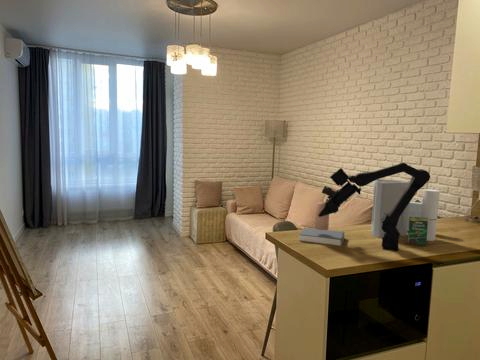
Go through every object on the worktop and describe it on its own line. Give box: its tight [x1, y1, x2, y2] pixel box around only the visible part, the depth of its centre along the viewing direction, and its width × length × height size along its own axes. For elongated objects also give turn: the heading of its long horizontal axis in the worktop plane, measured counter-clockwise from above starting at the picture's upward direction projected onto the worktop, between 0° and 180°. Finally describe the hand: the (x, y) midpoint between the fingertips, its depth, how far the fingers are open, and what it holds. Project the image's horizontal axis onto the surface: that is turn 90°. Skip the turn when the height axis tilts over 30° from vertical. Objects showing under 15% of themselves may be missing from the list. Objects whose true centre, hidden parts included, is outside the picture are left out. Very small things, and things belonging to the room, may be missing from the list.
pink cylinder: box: [314, 201, 330, 230], centre depth 171 cm, size 6×6×12 cm
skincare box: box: [407, 201, 423, 232], centre depth 198 cm, size 21×6×16 cm, turn 58°
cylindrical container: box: [421, 188, 441, 242], centre depth 180 cm, size 7×7×25 cm
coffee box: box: [407, 217, 428, 247], centre depth 172 cm, size 8×3×13 cm, turn 68°
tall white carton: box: [370, 178, 410, 239], centre depth 190 cm, size 19×15×28 cm
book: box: [298, 227, 345, 247], centre depth 175 cm, size 20×14×4 cm
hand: (319, 214), depth 172 cm, fingers closed on pink cylinder, 6 cm apart
